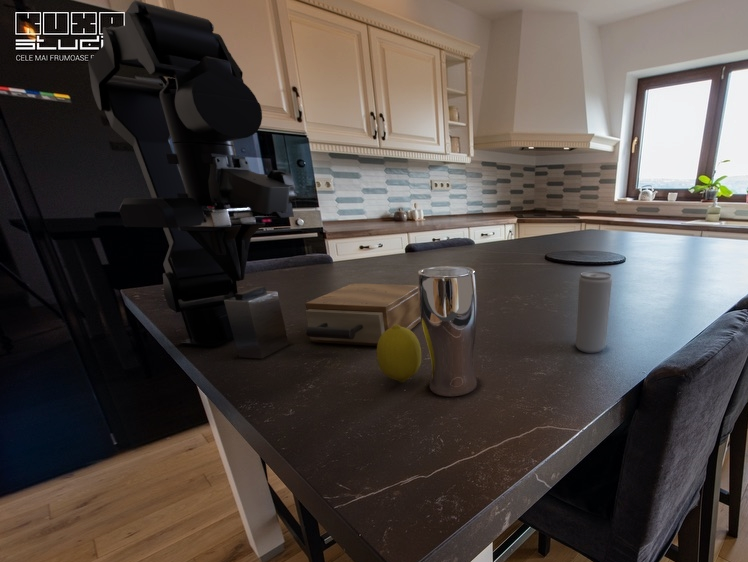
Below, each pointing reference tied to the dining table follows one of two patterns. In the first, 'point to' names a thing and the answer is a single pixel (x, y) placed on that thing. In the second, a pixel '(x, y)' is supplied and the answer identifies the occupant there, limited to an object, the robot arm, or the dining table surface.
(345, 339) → the drawer
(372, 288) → the cabinet
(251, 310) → the tall upright grey box
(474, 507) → the dining table surface
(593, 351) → the beverage can
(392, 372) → the lemon
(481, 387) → the dining table surface
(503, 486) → the dining table surface
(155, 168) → the robot arm
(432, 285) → the beer glass
